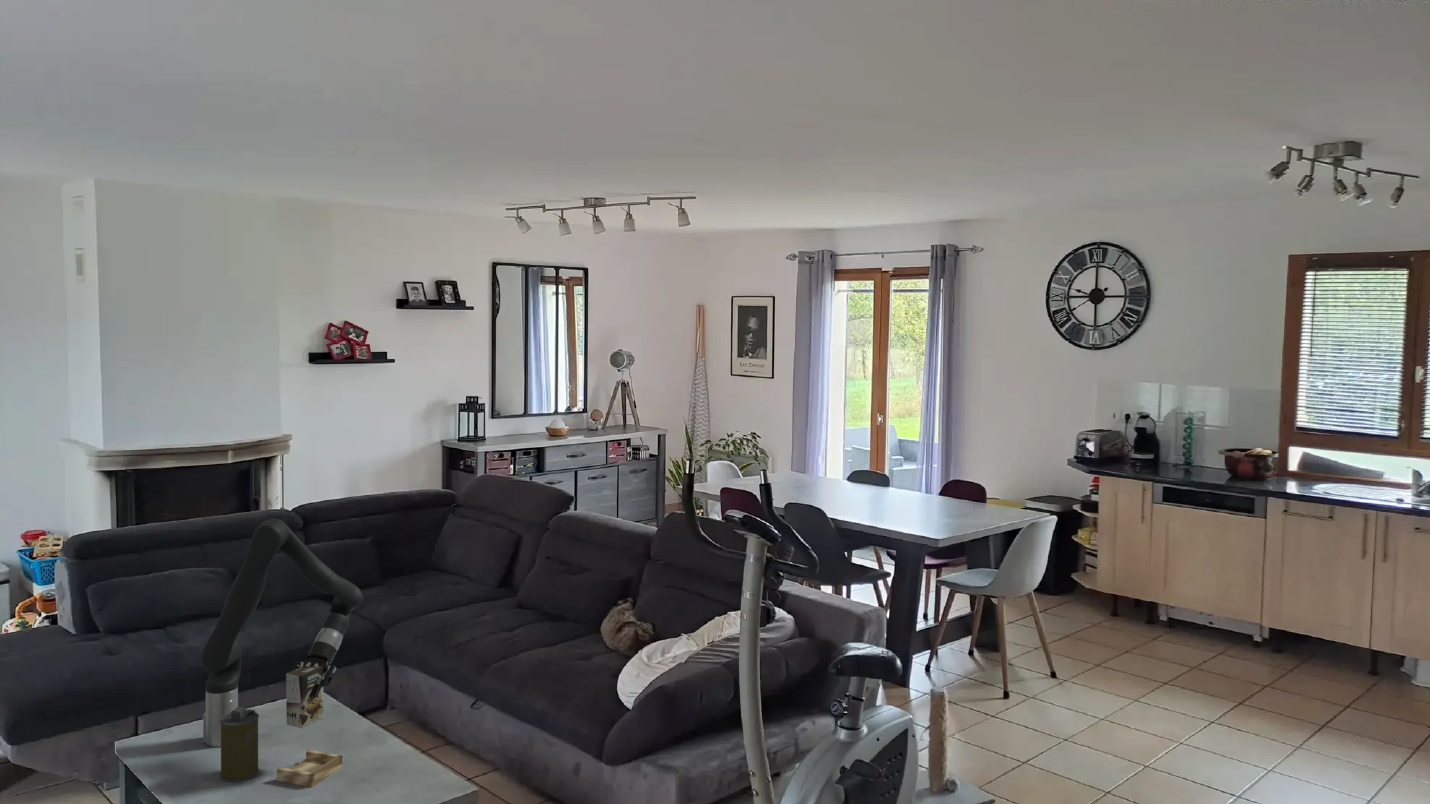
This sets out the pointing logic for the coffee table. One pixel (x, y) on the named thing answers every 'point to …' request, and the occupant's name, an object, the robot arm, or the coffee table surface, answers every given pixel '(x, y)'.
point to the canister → (239, 745)
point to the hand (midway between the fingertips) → (301, 696)
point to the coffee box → (303, 697)
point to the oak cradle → (311, 769)
